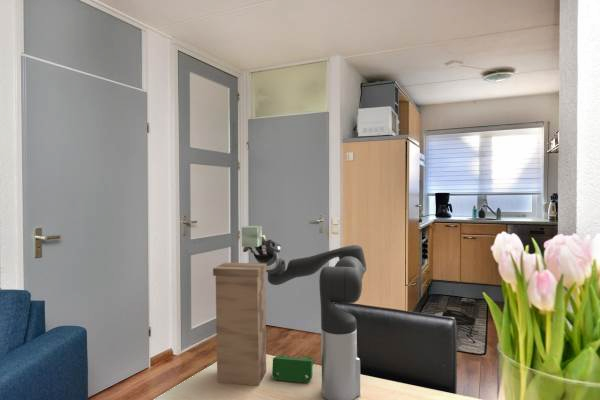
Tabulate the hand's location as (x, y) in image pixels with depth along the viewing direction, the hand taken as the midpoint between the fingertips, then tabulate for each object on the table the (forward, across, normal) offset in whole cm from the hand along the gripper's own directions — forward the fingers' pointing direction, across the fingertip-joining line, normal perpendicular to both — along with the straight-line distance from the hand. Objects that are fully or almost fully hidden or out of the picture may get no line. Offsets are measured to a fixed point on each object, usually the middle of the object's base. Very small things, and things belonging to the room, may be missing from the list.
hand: (254, 237), depth 124 cm
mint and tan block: (-2, 0, +1) cm, 3 cm away
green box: (-9, +15, +40) cm, 43 cm away
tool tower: (-7, 0, +40) cm, 41 cm away
